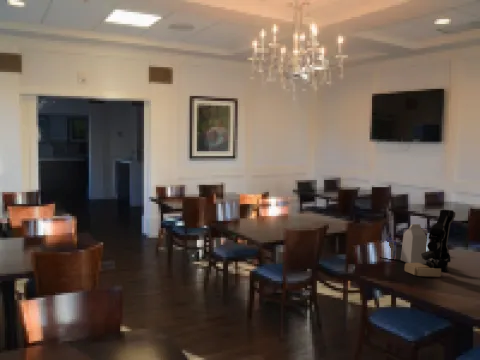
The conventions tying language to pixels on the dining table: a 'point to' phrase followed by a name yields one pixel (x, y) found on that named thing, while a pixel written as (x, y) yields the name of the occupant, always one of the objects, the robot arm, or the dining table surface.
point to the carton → (414, 267)
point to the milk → (413, 245)
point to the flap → (429, 272)
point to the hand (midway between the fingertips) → (434, 272)
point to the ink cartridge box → (393, 247)
